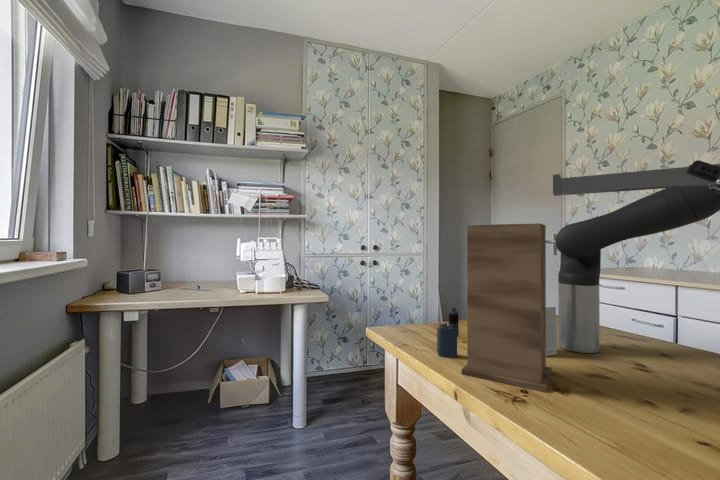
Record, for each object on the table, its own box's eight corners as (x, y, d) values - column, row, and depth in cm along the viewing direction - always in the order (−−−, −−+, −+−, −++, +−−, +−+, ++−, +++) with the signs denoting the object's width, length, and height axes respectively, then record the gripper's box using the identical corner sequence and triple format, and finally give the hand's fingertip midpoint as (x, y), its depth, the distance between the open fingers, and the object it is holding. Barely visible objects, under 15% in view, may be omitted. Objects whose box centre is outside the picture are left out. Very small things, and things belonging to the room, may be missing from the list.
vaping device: (459, 358, 83) (459, 309, 84) (437, 356, 84) (437, 308, 85) (458, 354, 86) (458, 307, 86) (437, 353, 87) (436, 306, 87)
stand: (476, 358, 83) (476, 227, 83) (551, 372, 74) (551, 225, 75) (461, 374, 73) (461, 225, 73) (545, 392, 64) (545, 223, 65)
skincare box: (558, 354, 86) (557, 306, 86) (544, 356, 84) (544, 307, 84) (537, 347, 92) (537, 302, 92) (524, 349, 90) (524, 303, 90)
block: (554, 195, 71) (554, 177, 71) (727, 184, 57) (727, 161, 57) (553, 193, 67) (552, 174, 67) (735, 181, 54) (735, 156, 54)
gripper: (822, 196, 54) (693, 155, 63) (885, 185, 43) (716, 136, 51) (786, 237, 56) (665, 192, 65) (837, 237, 45) (682, 182, 53)
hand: (689, 168), depth 58 cm, fingers closed on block, 3 cm apart
